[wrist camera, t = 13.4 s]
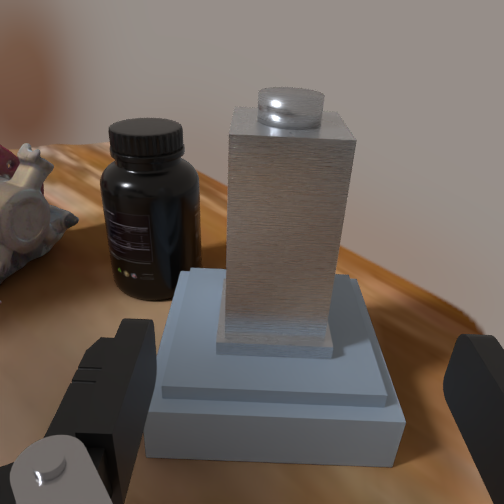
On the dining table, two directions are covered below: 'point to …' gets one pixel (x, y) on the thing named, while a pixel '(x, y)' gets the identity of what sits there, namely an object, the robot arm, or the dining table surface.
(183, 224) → the supplement bottle
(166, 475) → the dining table surface
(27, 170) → the brake caliper
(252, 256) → the block
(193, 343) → the stand
